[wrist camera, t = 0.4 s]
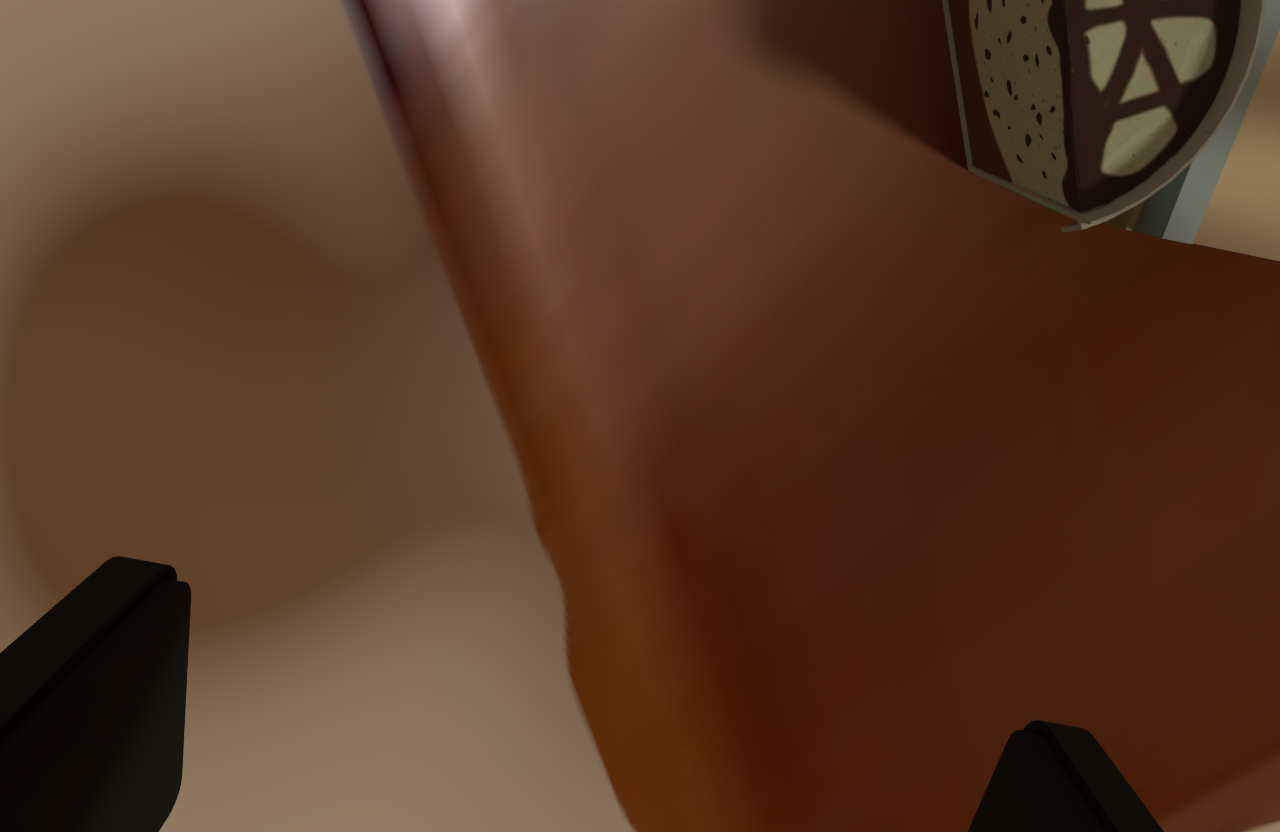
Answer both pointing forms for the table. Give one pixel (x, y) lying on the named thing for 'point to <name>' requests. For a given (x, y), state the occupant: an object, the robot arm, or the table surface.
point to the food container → (1095, 93)
